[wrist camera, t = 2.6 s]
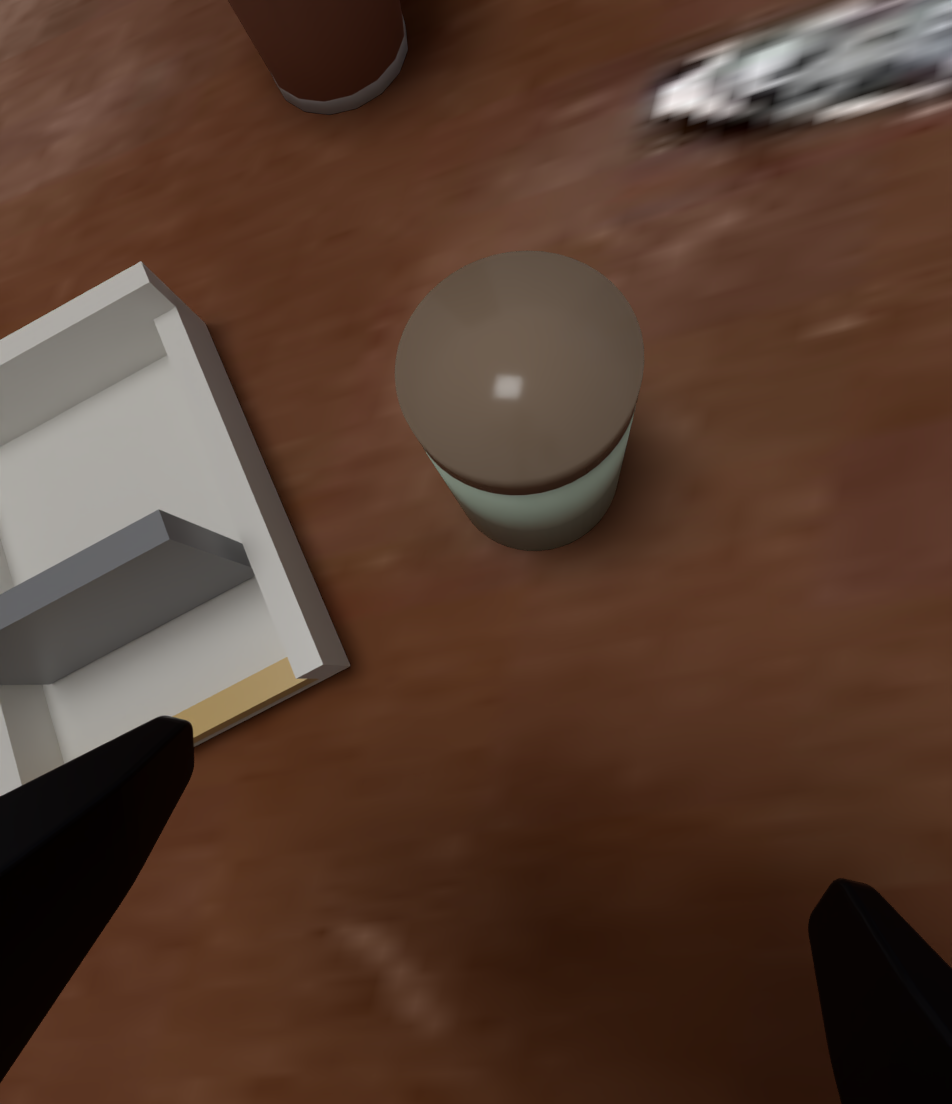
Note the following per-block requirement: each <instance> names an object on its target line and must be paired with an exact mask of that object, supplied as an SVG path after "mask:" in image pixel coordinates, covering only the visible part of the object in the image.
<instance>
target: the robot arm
mask: <svg viewBox="0 0 952 1104" xmlns="http://www.w3.org/2000/svg"><path fill="white" fill-rule="evenodd" d="M193 768H194V741H193V727H192V724H191V723H190V722H189V721H187V720H184V719H179V718H175V717H171V716H166V715H164V716H159V717H156V718H154V719H152V720H150V721H148V722H146V723H144V724H142V725H140V726H138V727H136V728H134V729H132V730H130V731H128V732H126V733H124V734H122V735H120V736H118V737H116V738H115V739H113V740H111V741H109V742H107V743H105V744H103V745H101V746H99V747H97V748H95V749H93V750H91V751H89V752H87V753H85V754H83V755H81V756H79V757H77V758H75V759H73V760H71V761H69V762H67V763H65V764H63V765H61V766H59V767H57V768H55V769H53V770H51V771H49V772H47V773H45V774H43V775H41V776H39V777H37V778H35V779H33V780H31V781H29V782H27V783H25V784H23V785H21V786H20V787H18V788H16V789H14V790H12V791H10V792H8V793H6V794H4V795H2V796H0V1083H1V1081H2V1080H3V1078H4V1077H5V1075H6V1074H7V1072H8V1071H9V1069H10V1068H11V1066H12V1065H13V1063H14V1062H15V1060H16V1059H17V1057H18V1056H19V1054H20V1053H21V1051H22V1050H23V1048H24V1047H25V1045H26V1044H27V1043H28V1041H29V1040H30V1038H31V1037H32V1035H33V1034H34V1032H35V1031H36V1029H37V1028H38V1026H39V1025H40V1023H41V1022H42V1020H43V1019H44V1017H45V1016H46V1014H47V1013H48V1011H49V1010H50V1008H51V1007H52V1005H53V1004H54V1002H55V1001H56V999H57V998H58V996H59V995H60V993H61V992H62V990H63V989H64V987H65V986H66V984H67V983H68V981H69V980H70V978H71V977H72V975H73V974H74V972H75V971H76V970H77V968H78V967H79V965H80V964H81V962H82V961H83V959H84V958H85V956H86V955H87V953H88V952H89V950H90V949H91V947H92V946H93V944H94V943H95V941H96V940H97V938H98V937H99V935H100V934H101V932H102V931H103V929H104V928H105V926H106V925H107V923H108V922H109V920H110V919H111V917H112V916H113V914H114V913H115V911H116V910H117V908H118V907H119V905H120V904H121V902H122V901H123V899H124V898H125V896H126V895H127V893H128V891H129V890H130V888H131V887H132V885H133V883H134V882H135V880H136V878H137V876H138V875H139V873H140V871H141V869H142V868H143V866H144V864H145V862H146V860H147V858H148V856H149V855H150V853H151V851H152V849H153V847H154V845H155V843H156V842H157V840H158V838H159V836H160V834H161V832H162V830H163V829H164V827H165V825H166V823H167V821H168V819H169V817H170V816H171V814H172V812H173V810H174V808H175V806H176V804H177V803H178V801H179V799H180V797H181V795H182V793H183V791H184V790H185V788H186V786H187V784H188V782H189V780H190V778H191V775H192V772H193ZM808 931H809V939H810V945H811V950H812V956H813V962H814V968H815V974H816V980H817V986H818V991H819V997H820V1003H821V1009H822V1015H823V1021H824V1027H825V1032H826V1038H827V1044H828V1049H829V1054H830V1059H831V1064H832V1068H833V1072H834V1076H835V1080H836V1084H837V1088H838V1092H839V1096H840V1100H841V1103H842V1104H952V968H951V967H950V966H949V965H948V964H947V963H946V962H945V961H944V960H943V959H942V958H941V957H940V956H939V955H938V954H937V953H936V952H935V951H934V950H933V949H932V948H931V947H930V946H929V945H928V944H927V943H926V941H925V940H924V939H923V938H922V937H921V936H920V935H919V934H918V933H917V932H916V931H915V930H914V929H913V928H912V927H911V926H910V925H909V924H908V923H907V922H906V921H905V920H904V919H903V918H902V917H901V916H900V914H899V913H898V912H897V911H896V910H895V909H894V908H893V907H892V906H891V905H890V904H889V903H888V902H887V901H886V900H885V899H884V898H883V897H882V896H881V895H880V894H879V893H878V892H877V891H876V890H875V889H874V888H872V887H871V886H869V885H867V884H864V883H860V882H856V881H851V880H847V879H843V878H839V879H837V880H834V881H833V882H832V883H831V885H830V886H829V888H828V889H827V891H826V892H825V893H824V895H823V896H822V898H821V899H820V901H819V902H818V904H817V905H816V907H815V908H814V910H813V911H812V913H811V916H810V919H809V925H808Z"/></svg>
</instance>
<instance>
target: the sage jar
mask: <svg viewBox="0 0 952 1104" xmlns="http://www.w3.org/2000/svg"><path fill="white" fill-rule="evenodd" d="M643 368H644V345H643V340H642V334H641V330H640V327H639V324H638V321H637V318H636V316H635V314H634V312H633V310H632V308H631V306H630V304H629V303H628V302H627V300H626V299H625V297H624V296H623V294H622V293H621V292H620V291H619V290H618V289H617V288H616V287H615V285H614V284H613V283H612V282H611V281H610V280H608V279H607V278H606V277H604V276H603V275H602V274H601V273H599V272H598V271H596V270H595V269H593V268H591V267H590V266H588V265H586V264H584V263H582V262H579V261H577V260H575V259H573V258H569V257H566V256H563V255H559V254H555V253H548V252H542V251H516V252H507V253H502V254H497V255H493V256H490V257H487V258H483V259H480V260H478V261H475V262H473V263H471V264H469V265H466V266H464V267H463V268H461V269H459V270H457V271H456V272H454V273H452V274H451V275H450V276H448V277H447V278H445V279H444V280H443V281H441V282H440V283H439V284H438V285H437V286H436V287H435V288H434V289H432V290H431V291H430V292H429V293H428V294H427V296H426V297H425V298H424V299H423V300H422V301H421V303H420V304H419V305H418V306H417V308H416V310H415V311H414V313H413V314H412V316H411V317H410V319H409V321H408V323H407V325H406V327H405V329H404V331H403V334H402V337H401V340H400V343H399V346H398V351H397V356H396V364H395V383H396V391H397V396H398V400H399V404H400V407H401V409H402V412H403V415H404V417H405V419H406V421H407V423H408V424H409V426H410V428H411V430H412V431H413V433H414V434H415V436H416V438H417V439H418V441H419V442H420V444H421V445H422V447H423V448H424V450H425V451H426V453H427V455H428V456H429V458H430V459H431V461H432V462H433V464H434V465H435V467H436V469H437V470H438V472H439V473H440V475H441V476H442V478H443V479H444V481H445V483H446V484H447V486H448V487H449V489H450V490H451V492H452V493H453V495H454V497H455V498H456V500H457V501H458V503H459V504H460V506H461V507H462V509H463V510H464V512H465V514H466V515H467V516H468V518H469V519H470V521H471V522H472V523H473V524H474V525H475V526H476V527H477V528H478V529H479V530H480V531H481V532H482V533H483V534H485V535H486V536H487V537H489V538H491V539H492V540H494V541H496V542H498V543H500V544H502V545H505V546H507V547H511V548H515V549H519V550H527V551H541V550H549V549H554V548H557V547H561V546H564V545H566V544H569V543H571V542H573V541H575V540H577V539H578V538H580V537H582V536H583V535H585V534H586V533H587V532H589V531H590V530H591V529H592V528H593V527H594V526H595V525H596V524H597V523H598V522H599V521H600V520H601V518H602V517H603V516H604V515H605V513H606V511H607V510H608V508H609V506H610V504H611V502H612V500H613V497H614V495H615V491H616V488H617V484H618V480H619V475H620V471H621V467H622V463H623V458H624V454H625V450H626V446H627V441H628V437H629V433H630V428H631V424H632V420H633V416H634V411H635V407H636V403H637V399H638V394H639V390H640V386H641V382H642V376H643Z"/></svg>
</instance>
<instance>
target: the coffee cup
mask: <svg viewBox="0 0 952 1104" xmlns="http://www.w3.org/2000/svg"><path fill="white" fill-rule="evenodd" d="M228 2H229V3H230V5H231V7H232V8H233V10H234V12H235V13H236V15H237V17H238V18H239V20H240V22H241V23H242V25H243V27H244V28H245V30H246V32H247V34H248V35H249V37H250V39H251V40H252V42H253V44H254V45H255V47H256V49H257V50H258V52H259V54H260V55H261V57H262V59H263V61H264V62H265V64H266V66H267V67H268V69H269V71H270V73H271V75H272V77H273V79H274V81H275V83H276V84H277V86H278V88H279V90H280V91H281V93H282V95H283V96H284V98H285V100H286V101H288V102H290V103H291V104H293V105H295V106H296V107H298V108H300V109H301V110H303V111H305V112H312V113H320V114H329V115H331V114H335V113H339V112H344V111H348V110H352V109H357V108H358V107H360V106H362V105H363V104H365V103H367V102H368V101H370V100H372V99H374V98H375V97H377V96H379V95H380V94H382V93H383V91H384V90H385V89H386V88H387V87H388V86H389V84H390V83H391V82H392V81H393V80H394V79H395V78H396V76H397V75H398V74H399V73H400V70H401V67H402V65H403V62H404V59H405V57H406V54H407V51H408V45H407V34H406V26H405V22H404V18H403V15H402V10H401V4H400V0H228Z"/></svg>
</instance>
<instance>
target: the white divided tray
mask: <svg viewBox="0 0 952 1104" xmlns="http://www.w3.org/2000/svg"><path fill="white" fill-rule="evenodd" d="M158 509H159V510H162V511H164V512H167V513H169V514H172V515H174V516H176V517H179V518H181V519H184V520H186V521H189V522H191V523H194V524H196V525H198V526H201V527H203V528H206V529H208V530H211V531H213V532H216V533H218V534H220V535H223V536H225V537H228V538H230V539H233V540H235V541H238V542H240V543H242V544H243V547H244V549H245V552H246V554H247V557H248V559H249V562H250V564H251V567H252V569H253V572H254V574H255V576H254V577H252V578H251V579H249V580H247V581H245V582H243V583H241V584H239V585H237V586H235V587H234V588H232V589H230V590H228V591H226V592H224V593H222V594H220V595H218V596H217V597H215V598H213V599H211V600H209V601H207V602H205V603H203V604H201V605H199V606H198V607H196V608H194V609H192V610H190V611H188V612H186V613H184V614H182V615H181V616H179V617H177V618H175V619H173V620H171V621H169V622H167V623H165V624H163V625H162V626H160V627H158V628H156V629H154V630H152V631H150V632H148V633H146V634H145V635H143V636H141V637H139V638H137V639H135V640H133V641H131V642H129V643H127V644H126V645H124V646H122V647H120V648H118V649H116V650H114V651H112V652H110V653H109V654H107V655H105V656H103V657H101V658H99V659H97V660H95V661H93V662H92V663H90V664H88V665H86V666H84V667H82V668H80V669H78V670H76V671H74V672H73V673H71V674H69V675H67V676H65V677H63V678H61V679H59V680H57V681H56V682H54V683H52V684H46V685H0V796H2V795H4V794H6V793H8V792H10V791H12V790H14V789H16V788H18V787H20V786H21V785H23V784H25V783H27V782H29V781H31V780H33V779H35V778H37V777H39V776H41V775H43V774H45V773H47V772H49V771H51V770H53V769H55V768H57V767H59V766H61V765H63V764H65V763H67V762H69V761H71V760H73V759H75V758H77V757H79V756H81V755H83V754H85V753H87V752H89V751H91V750H93V749H95V748H97V747H99V746H101V745H103V744H105V743H107V742H109V741H111V740H113V739H115V738H116V737H118V736H120V735H122V734H124V733H126V732H128V731H130V730H132V729H134V728H136V727H138V726H140V725H142V724H144V723H146V722H148V721H150V720H152V719H154V718H156V717H159V716H164V715H166V716H171V717H175V718H179V719H184V720H187V721H189V722H190V723H191V724H192V727H193V741H194V747H195V746H197V745H199V744H201V743H203V742H205V741H207V740H209V739H210V738H212V737H214V736H216V735H218V734H220V733H222V732H224V731H226V730H228V729H230V728H232V727H234V726H236V725H238V724H240V723H241V722H243V721H245V720H247V719H249V718H251V717H253V716H255V715H257V714H259V713H261V712H263V711H265V710H267V709H269V708H270V707H272V706H274V705H276V704H278V703H280V702H282V701H284V700H286V699H288V698H290V697H292V696H294V695H296V694H298V693H300V692H301V691H303V690H305V689H307V688H309V687H311V686H313V685H315V684H317V683H319V682H321V681H323V680H325V679H327V678H329V677H331V676H332V675H334V674H336V673H338V672H340V671H342V670H344V669H346V668H348V667H350V663H349V661H348V659H347V656H346V654H345V652H344V649H343V647H342V644H341V642H340V640H339V637H338V635H337V633H336V630H335V628H334V626H333V623H332V621H331V618H330V616H329V614H328V611H327V609H326V607H325V604H324V602H323V600H322V597H321V595H320V593H319V590H318V588H317V585H316V583H315V581H314V578H313V576H312V574H311V571H310V569H309V567H308V564H307V562H306V559H305V557H304V555H303V552H302V550H301V548H300V545H299V543H298V541H297V538H296V536H295V534H294V531H293V529H292V526H291V524H290V522H289V519H288V517H287V515H286V512H285V510H284V508H283V505H282V503H281V501H280V498H279V496H278V493H277V491H276V489H275V486H274V484H273V482H272V479H271V477H270V475H269V472H268V470H267V467H266V465H265V463H264V460H263V458H262V456H261V453H260V451H259V449H258V446H257V444H256V442H255V439H254V437H253V434H252V432H251V430H250V427H249V425H248V423H247V420H246V418H245V416H244V413H243V411H242V409H241V406H240V404H239V401H238V399H237V397H236V394H235V392H234V390H233V387H232V385H231V383H230V380H229V378H228V375H227V373H226V371H225V368H224V366H223V364H222V361H221V359H220V357H219V354H218V352H217V350H216V347H215V345H214V342H213V340H212V338H211V335H210V333H209V331H208V328H207V326H206V324H205V323H204V322H203V321H202V320H201V319H200V318H199V317H198V316H197V315H196V314H195V313H194V312H193V311H192V310H191V309H190V308H189V307H188V306H187V305H186V304H185V303H184V302H183V301H182V300H181V299H180V298H178V297H177V296H176V295H175V294H174V293H173V292H172V291H171V290H170V289H169V288H168V287H167V286H166V285H165V284H164V283H163V282H162V281H161V280H160V279H159V278H158V277H157V276H156V275H155V274H154V273H153V272H152V271H151V270H150V269H149V268H147V267H146V266H145V265H144V264H143V263H142V262H139V263H137V264H135V265H134V266H132V267H130V268H128V269H126V270H125V271H123V272H121V273H119V274H117V275H116V276H114V277H112V278H110V279H109V280H107V281H105V282H103V283H101V284H100V285H98V286H96V287H94V288H92V289H91V290H89V291H87V292H85V293H84V294H82V295H80V296H78V297H76V298H75V299H73V300H71V301H69V302H67V303H66V304H64V305H62V306H60V307H59V308H57V309H55V310H53V311H51V312H50V313H48V314H46V315H44V316H42V317H41V318H39V319H37V320H35V321H33V322H32V323H30V324H28V325H26V326H25V327H23V328H21V329H19V330H17V331H16V332H14V333H12V334H10V335H8V336H7V337H5V338H3V339H1V340H0V594H2V593H4V592H6V591H8V590H10V589H11V588H13V587H15V586H17V585H19V584H21V583H23V582H24V581H26V580H28V579H30V578H32V577H34V576H36V575H37V574H39V573H41V572H43V571H45V570H47V569H49V568H50V567H52V566H54V565H56V564H58V563H60V562H62V561H63V560H65V559H67V558H69V557H71V556H73V555H75V554H76V553H78V552H80V551H82V550H84V549H86V548H88V547H89V546H91V545H93V544H95V543H97V542H99V541H101V540H102V539H104V538H106V537H108V536H110V535H112V534H114V533H116V532H117V531H119V530H121V529H123V528H125V527H127V526H129V525H130V524H132V523H134V522H136V521H138V520H140V519H142V518H143V517H145V516H147V515H149V514H151V513H153V512H155V511H156V510H158Z"/></svg>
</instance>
